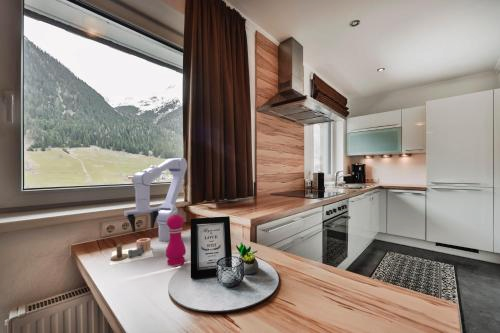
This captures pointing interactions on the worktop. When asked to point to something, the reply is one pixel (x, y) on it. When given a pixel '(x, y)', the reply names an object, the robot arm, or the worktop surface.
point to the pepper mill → (175, 241)
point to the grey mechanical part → (136, 252)
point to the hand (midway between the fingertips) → (143, 229)
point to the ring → (144, 243)
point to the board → (144, 255)
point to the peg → (119, 254)
